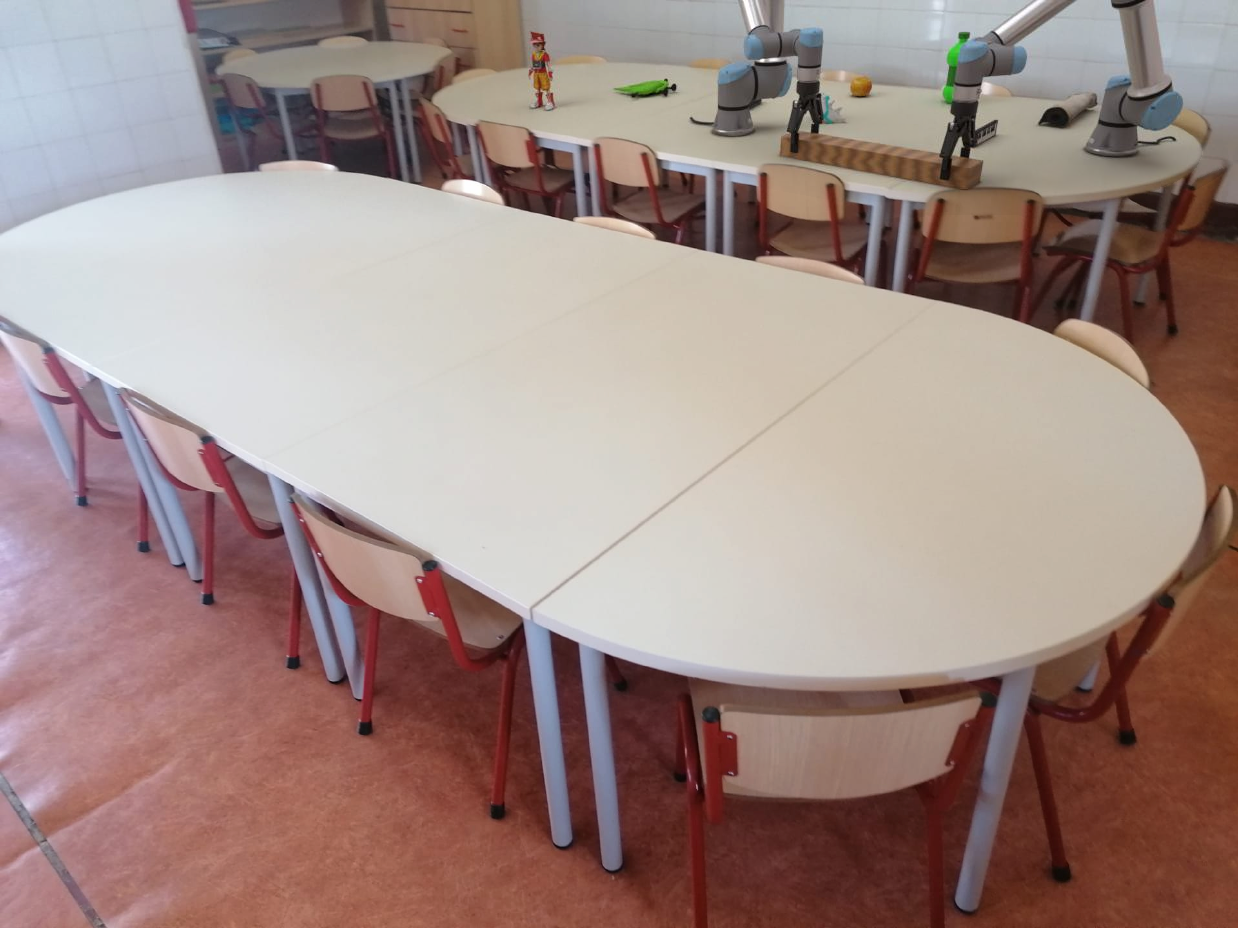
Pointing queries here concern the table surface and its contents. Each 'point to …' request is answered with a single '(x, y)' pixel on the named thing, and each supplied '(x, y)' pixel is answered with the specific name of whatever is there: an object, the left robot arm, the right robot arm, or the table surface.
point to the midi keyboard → (985, 132)
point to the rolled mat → (1068, 109)
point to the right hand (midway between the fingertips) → (953, 174)
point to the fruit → (861, 86)
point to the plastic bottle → (953, 66)
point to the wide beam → (883, 159)
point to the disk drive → (754, 103)
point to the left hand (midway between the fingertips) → (804, 148)
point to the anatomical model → (830, 110)
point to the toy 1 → (541, 71)
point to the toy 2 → (648, 88)
